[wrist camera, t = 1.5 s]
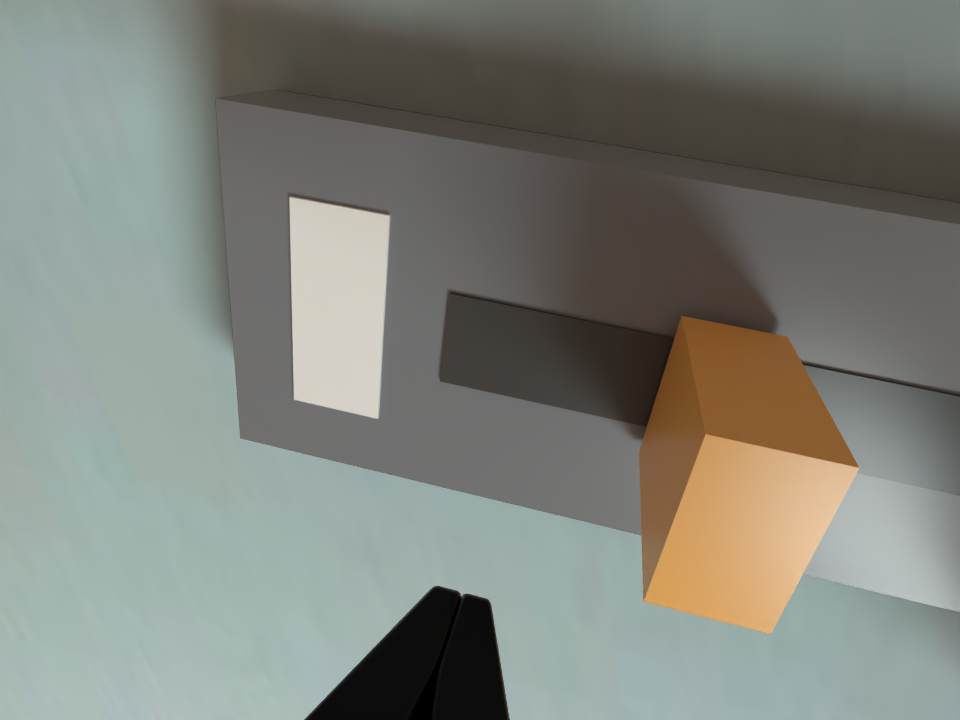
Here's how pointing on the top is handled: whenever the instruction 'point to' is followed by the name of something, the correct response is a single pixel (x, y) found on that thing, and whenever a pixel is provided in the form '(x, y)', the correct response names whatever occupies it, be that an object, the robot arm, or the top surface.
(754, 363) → the handle
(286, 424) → the panel
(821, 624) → the top surface
